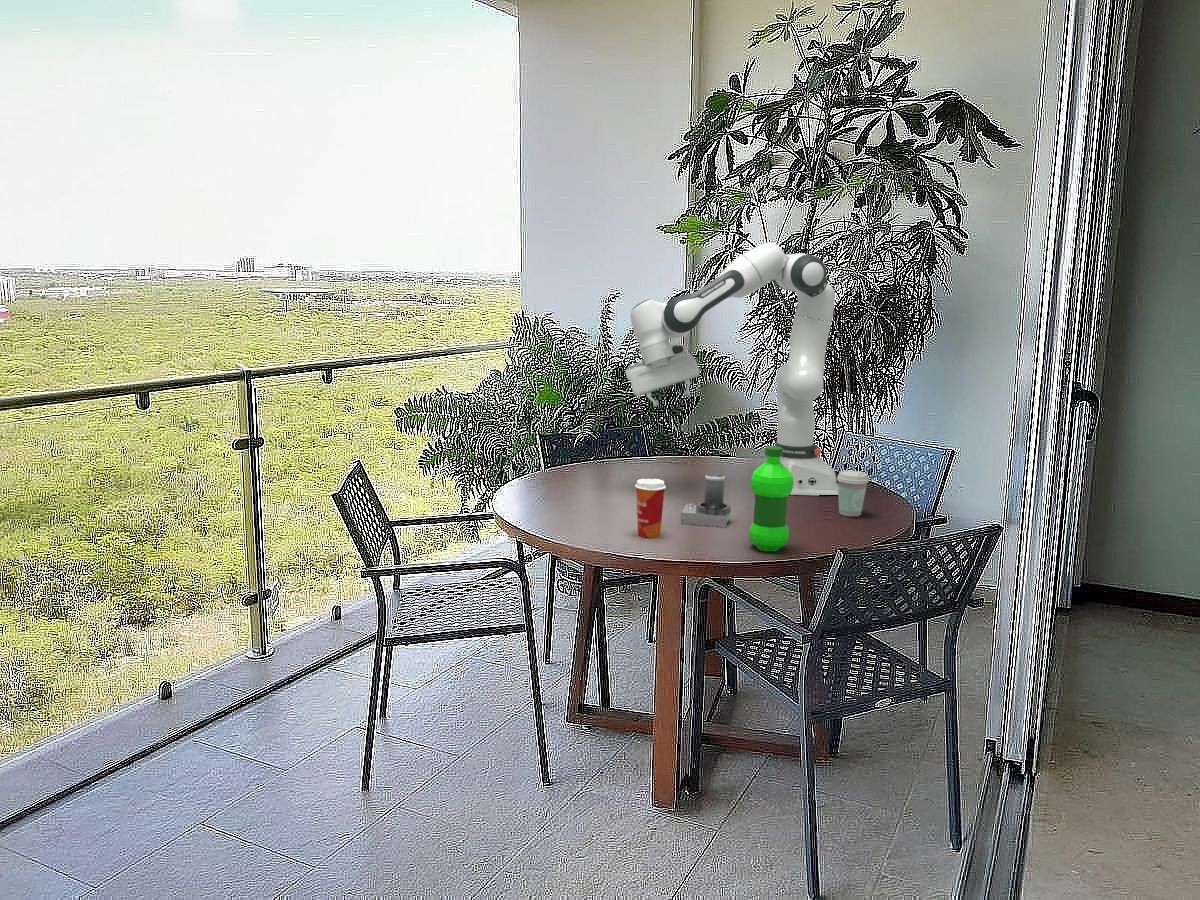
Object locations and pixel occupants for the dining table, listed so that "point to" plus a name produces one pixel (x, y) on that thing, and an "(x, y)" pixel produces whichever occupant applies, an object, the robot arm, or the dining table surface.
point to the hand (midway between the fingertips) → (672, 401)
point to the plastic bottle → (771, 502)
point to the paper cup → (649, 507)
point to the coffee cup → (851, 492)
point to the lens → (714, 490)
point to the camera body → (705, 515)
